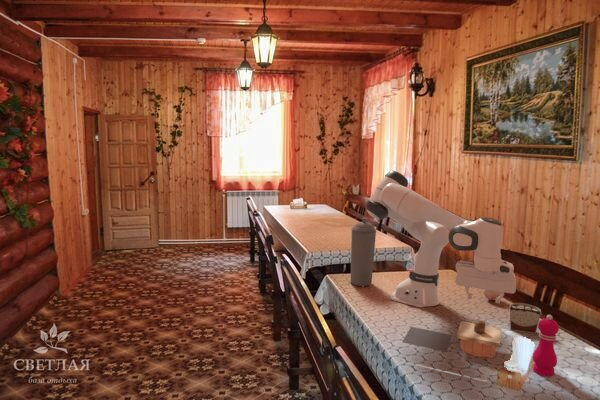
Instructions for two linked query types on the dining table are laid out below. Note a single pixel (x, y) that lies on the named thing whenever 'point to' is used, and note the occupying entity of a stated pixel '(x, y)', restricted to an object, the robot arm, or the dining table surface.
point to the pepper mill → (546, 347)
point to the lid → (479, 333)
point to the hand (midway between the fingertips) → (483, 300)
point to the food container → (524, 317)
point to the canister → (362, 253)
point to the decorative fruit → (491, 294)
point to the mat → (428, 339)
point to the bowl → (478, 348)
